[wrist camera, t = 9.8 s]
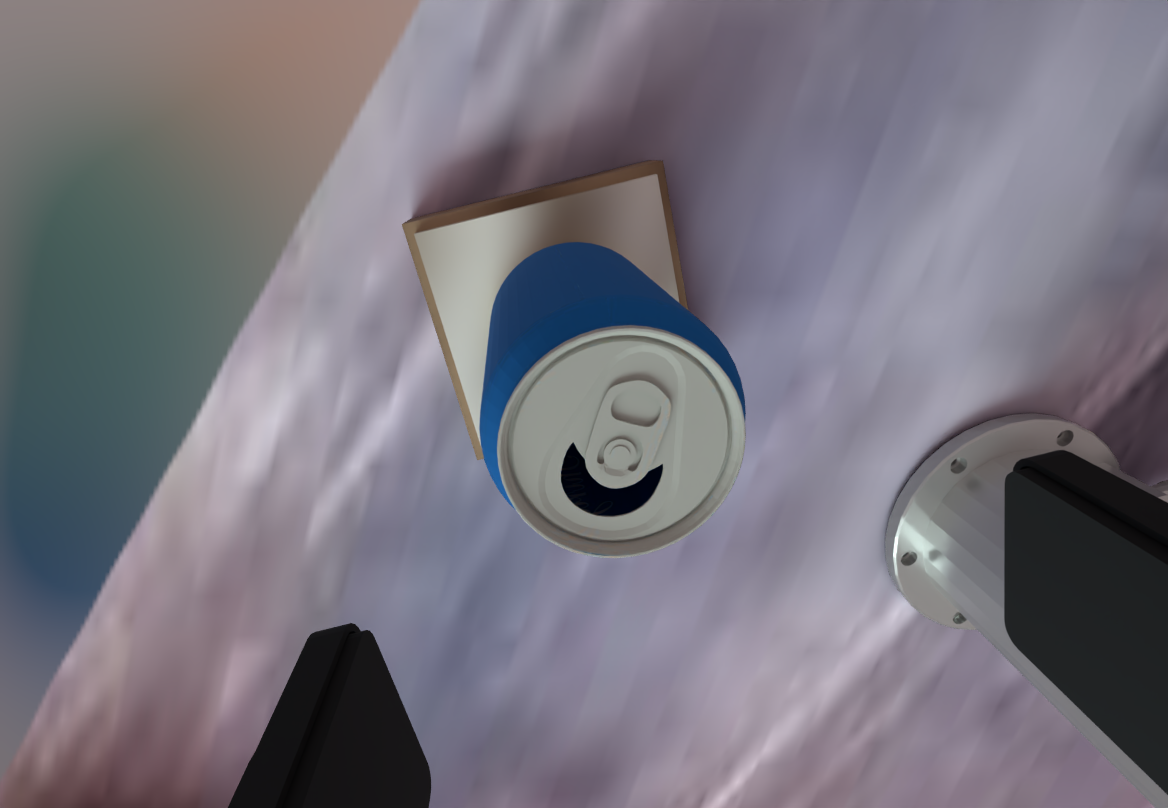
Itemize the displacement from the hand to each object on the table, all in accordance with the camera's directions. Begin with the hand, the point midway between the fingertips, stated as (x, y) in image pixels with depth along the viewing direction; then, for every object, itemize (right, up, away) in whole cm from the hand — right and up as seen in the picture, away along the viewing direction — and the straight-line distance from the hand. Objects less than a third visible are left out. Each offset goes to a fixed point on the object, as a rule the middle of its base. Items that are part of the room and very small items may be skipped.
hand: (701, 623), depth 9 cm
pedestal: (-3, +7, +19) cm, 21 cm away
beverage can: (-2, +6, +16) cm, 18 cm away
